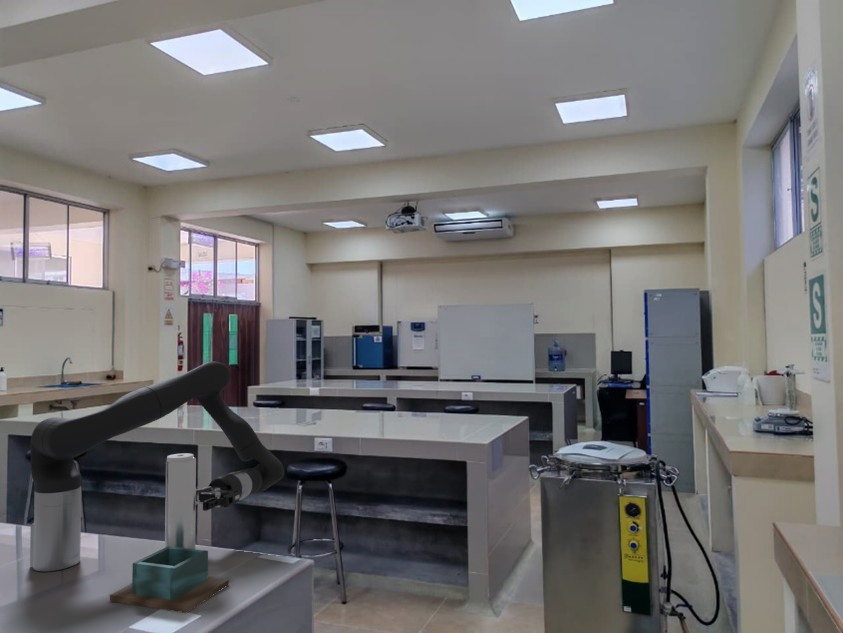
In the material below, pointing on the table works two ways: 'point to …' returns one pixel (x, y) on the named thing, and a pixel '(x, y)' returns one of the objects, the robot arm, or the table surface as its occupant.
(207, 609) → the table surface
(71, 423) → the robot arm
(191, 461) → the silver metal cylinder
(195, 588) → the cup stand
